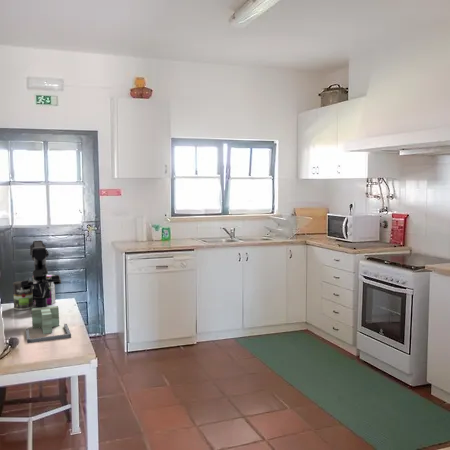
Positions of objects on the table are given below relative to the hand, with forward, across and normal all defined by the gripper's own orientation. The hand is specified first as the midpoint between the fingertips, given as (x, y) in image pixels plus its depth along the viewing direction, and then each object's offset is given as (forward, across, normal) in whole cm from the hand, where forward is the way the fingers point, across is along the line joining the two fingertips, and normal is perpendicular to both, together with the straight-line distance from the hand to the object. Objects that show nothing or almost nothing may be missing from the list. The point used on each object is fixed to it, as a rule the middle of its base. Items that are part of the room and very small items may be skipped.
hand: (42, 297), depth 250 cm
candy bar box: (-12, -5, +36) cm, 39 cm away
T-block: (+18, +2, -4) cm, 19 cm away
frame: (+23, +3, -10) cm, 25 cm away
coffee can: (-10, -15, +31) cm, 35 cm away
